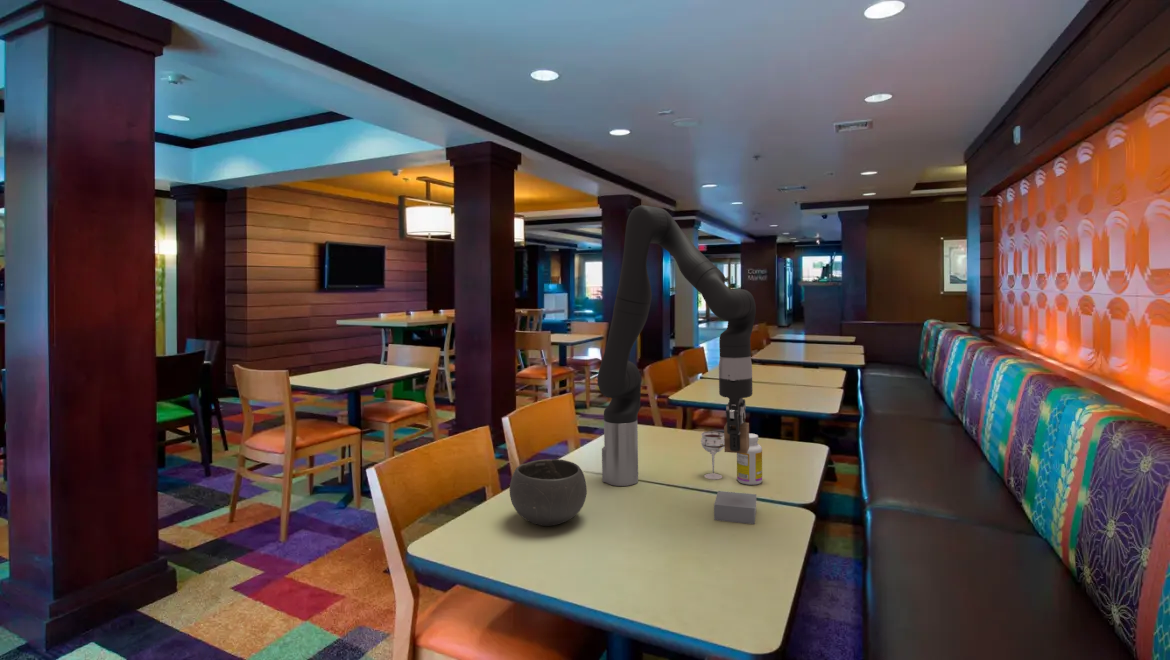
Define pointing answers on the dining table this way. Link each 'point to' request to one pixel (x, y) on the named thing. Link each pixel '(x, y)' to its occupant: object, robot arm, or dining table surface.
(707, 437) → the wineglass
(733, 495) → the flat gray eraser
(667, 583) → the dining table surface
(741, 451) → the walnut block
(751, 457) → the supplement bottle
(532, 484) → the bowl
